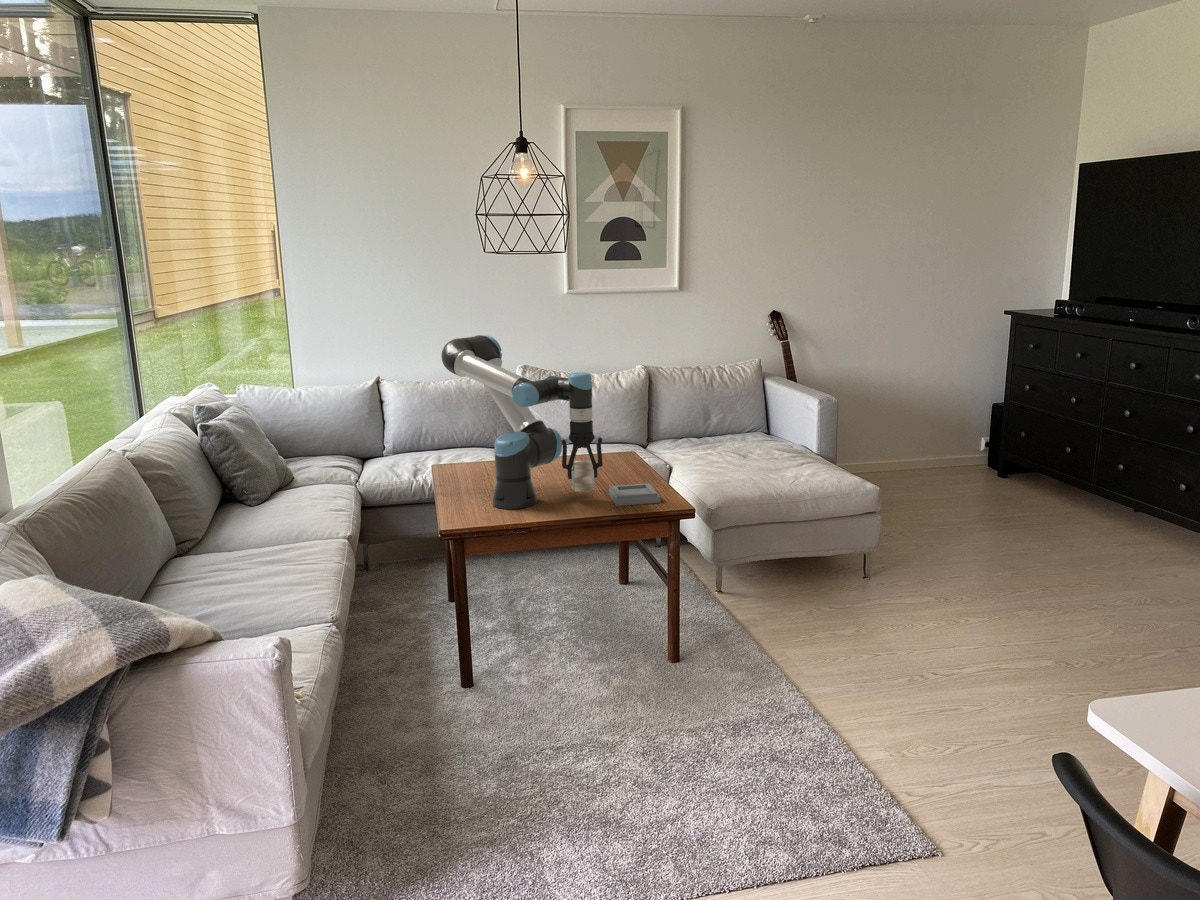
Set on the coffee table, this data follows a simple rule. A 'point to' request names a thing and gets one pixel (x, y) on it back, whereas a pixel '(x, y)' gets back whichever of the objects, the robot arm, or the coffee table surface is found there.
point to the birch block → (583, 475)
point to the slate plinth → (634, 494)
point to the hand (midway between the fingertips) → (582, 487)
